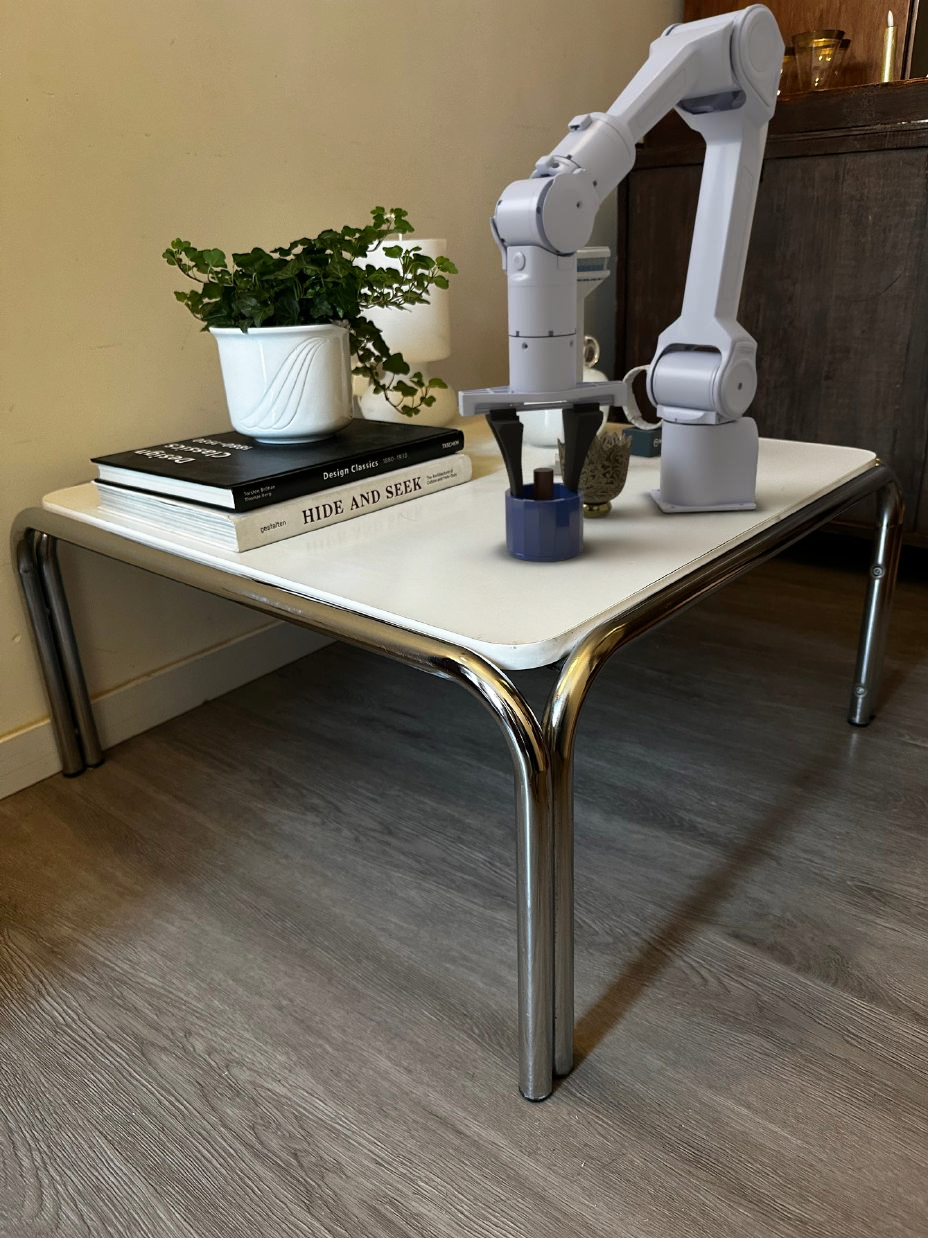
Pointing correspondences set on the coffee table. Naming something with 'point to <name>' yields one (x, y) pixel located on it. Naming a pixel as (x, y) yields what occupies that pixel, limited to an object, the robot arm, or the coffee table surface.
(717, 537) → the coffee table surface
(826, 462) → the coffee table surface
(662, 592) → the coffee table surface
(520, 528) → the cup
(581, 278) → the model tower
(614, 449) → the cup
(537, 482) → the brown cylinder
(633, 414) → the watch
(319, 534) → the coffee table surface
